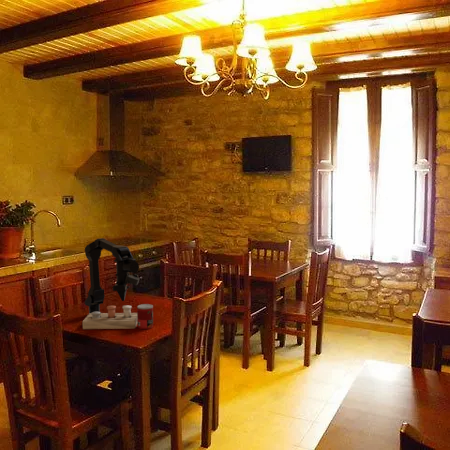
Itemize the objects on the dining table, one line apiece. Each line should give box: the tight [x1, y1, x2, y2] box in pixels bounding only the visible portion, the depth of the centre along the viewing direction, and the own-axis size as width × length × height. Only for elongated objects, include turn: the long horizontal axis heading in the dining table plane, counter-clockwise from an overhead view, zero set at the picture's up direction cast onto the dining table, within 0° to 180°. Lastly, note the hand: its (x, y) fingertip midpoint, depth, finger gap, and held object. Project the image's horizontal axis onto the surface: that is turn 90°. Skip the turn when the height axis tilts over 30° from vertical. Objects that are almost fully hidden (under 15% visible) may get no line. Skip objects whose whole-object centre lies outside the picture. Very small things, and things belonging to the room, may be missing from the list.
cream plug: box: [122, 304, 133, 318], centre depth 235 cm, size 5×5×6 cm
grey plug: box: [91, 311, 102, 318], centre depth 234 cm, size 5×5×6 cm
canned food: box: [136, 303, 154, 330], centre depth 230 cm, size 8×8×11 cm
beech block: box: [82, 312, 138, 330], centre depth 235 cm, size 14×26×4 cm, turn 92°
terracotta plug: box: [106, 305, 117, 318], centre depth 234 cm, size 5×5×6 cm
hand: (123, 300), depth 233 cm, fingers closed
